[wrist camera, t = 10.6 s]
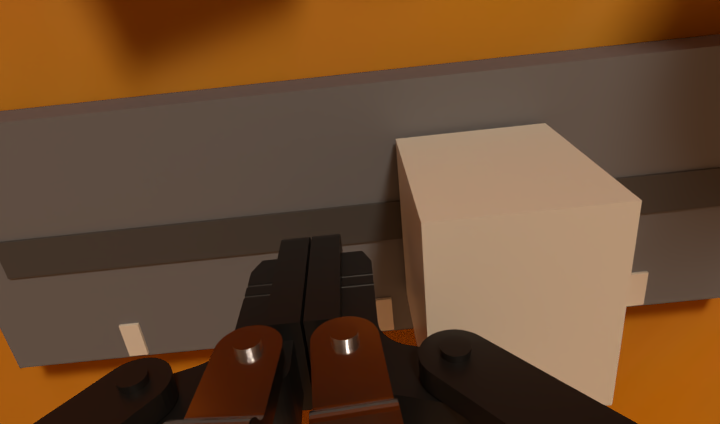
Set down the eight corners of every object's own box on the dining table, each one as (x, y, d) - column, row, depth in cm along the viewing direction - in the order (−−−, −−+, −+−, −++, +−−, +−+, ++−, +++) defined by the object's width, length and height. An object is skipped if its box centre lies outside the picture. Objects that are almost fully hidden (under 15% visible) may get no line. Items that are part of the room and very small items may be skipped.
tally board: (43, 338, 19) (18, 369, 17) (-57, 117, 15) (-99, 134, 14) (726, 269, 18) (758, 295, 17) (783, 27, 15) (831, 34, 13)
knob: (407, 294, 16) (432, 422, 12) (395, 138, 14) (421, 223, 10) (536, 280, 16) (612, 405, 12) (545, 123, 14) (642, 200, 10)
